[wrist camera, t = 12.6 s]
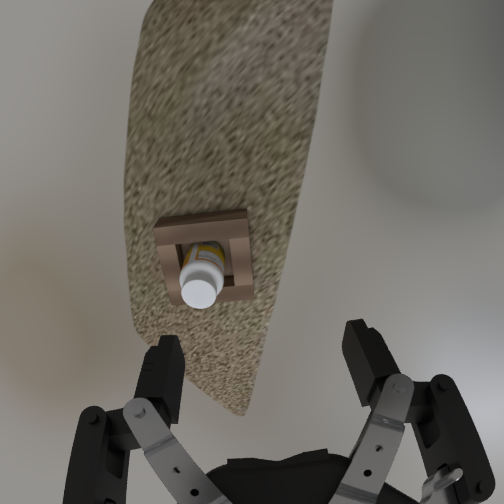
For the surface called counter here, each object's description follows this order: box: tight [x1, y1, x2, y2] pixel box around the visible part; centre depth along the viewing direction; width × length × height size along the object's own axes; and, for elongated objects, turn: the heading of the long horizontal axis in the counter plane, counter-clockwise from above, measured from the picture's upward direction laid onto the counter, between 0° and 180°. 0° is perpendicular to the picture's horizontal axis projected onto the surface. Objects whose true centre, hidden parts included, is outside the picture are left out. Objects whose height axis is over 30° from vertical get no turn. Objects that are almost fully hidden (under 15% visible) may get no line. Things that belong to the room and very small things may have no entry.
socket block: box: [153, 209, 255, 305], centre depth 39 cm, size 12×12×4 cm
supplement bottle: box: [179, 241, 225, 309], centre depth 36 cm, size 5×5×10 cm
